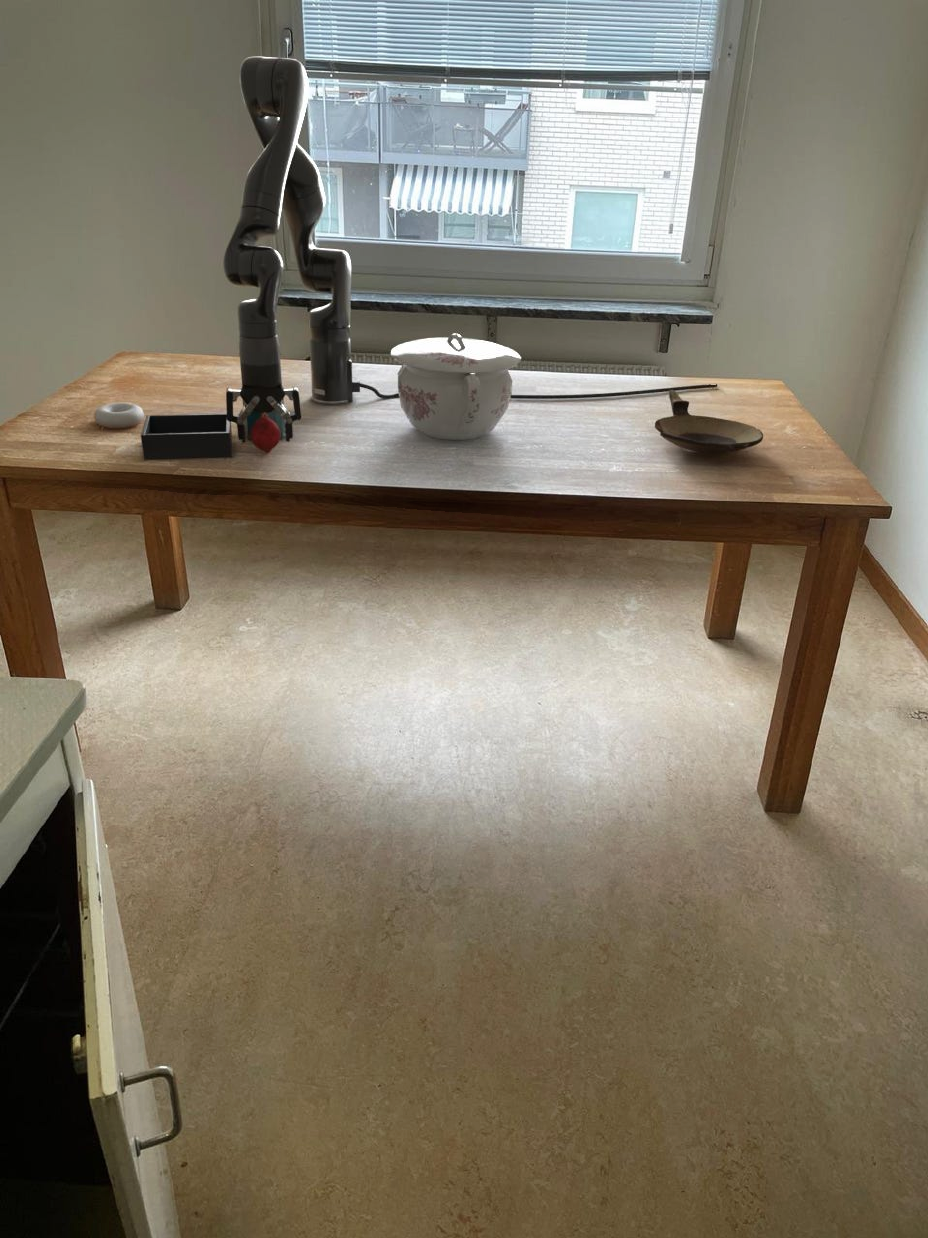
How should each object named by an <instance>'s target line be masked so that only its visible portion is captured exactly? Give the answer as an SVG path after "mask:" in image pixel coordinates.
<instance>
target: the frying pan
mask: <svg viewBox="0 0 928 1238" xmlns="http://www.w3.org/2000/svg"><path fill="white" fill-rule="evenodd" d="M668 397H669V402H670V406H671V411H672V415H671V416H666V417H662V418H659V419H657V420H655V422H654V429H655V430H656V431H658V432H659V435H660V437H662V438H663V439H664V440H666V441H668V442H669V443H671V444H673V445H675V446H678V447H680V448H683V449H685V450H688V451H690V452H695V453H700V454H725V453H732V452H733V453H734V452H738V451H742V450H745V449H749V448H751V447H754V446H757V445H758V444H760V443H762V441H763V439H764V434H763V433H764V432H763V431H762V430H761V429H759V428H756V427H755V426H753V425H750V424H748V423H744V422H740V421H737V420H731V419H725V418H719V417H714V416H713V417H712V416H707V415H703V416H702V415H695V414H690V413H689V406H690V401H689V400H684V399H682V397H680V395H679V394H678V393H677V391H674V390H670V391H668Z"/></svg>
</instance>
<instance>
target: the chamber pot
mask: <svg viewBox="0 0 928 1238" xmlns="http://www.w3.org/2000/svg"><path fill="white" fill-rule="evenodd" d="M390 356H391V357H392V358H393V359H394V360H395V361H396V362H397V363H399V364H402V365H401V367H400V369H399V371H398V372H397V393H399V397H398V398H399V403H400V408H401V409H402V411H403V412H404V414H405V415H406V418H407V419H408V421H409V423H410V424H411V425H412V427H413V428H414V429H416V430H417V432H419V433H422V434H423V435H426V436H428V437H430V438H431V437H432V438H435V439H439V440H444V441H468V440H473V439H476V438H481V437H484V436H486V435H488V434H490V433H491V432H492V431H493V430H494V429H495V428H496V426H497V425H498V424H499V422H500V420H501V419H502V418H503V416H504V415H505V413H507V411H508V408H509V404H510V400H511V398H510V397H511V395H513V394H512V393H513V379H512V378H513V377H511V374H510V372H509V369H512V368H513V367H516V366H518V364H519V363H520V362H521V361H522V357H521V355H520V354H519V352H517V351H515V349H513V348H510V347H508V346H504V345H503V344H499V343H496V342H492V341H488V340H482V339H478V338H467V337H462V336H461V335H460V334H458V333H457V332H455V333H452V334H451V335H449V336H441V337H426V338H418V339H414V340H409V341H405V342H403V343H402V342H401V343H399V344H397V345H396V346H394V347H393V348H392V349H391V350H390Z"/></svg>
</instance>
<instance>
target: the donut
mask: <svg viewBox="0 0 928 1238" xmlns="http://www.w3.org/2000/svg"><path fill="white" fill-rule="evenodd" d="M144 418H145V413H144V411H143V409H142V407H140V406H139V405H137V404H134V403H130V402H111V403H107V404H104V405H101V406H99V407H97V409H95V411H94V413H93V419H94V420H95V422H96V424H98V425H99V426H101V427H104V428H108V429H126V428H131V427H135V426H137V425H138V424H141V423H142V422H143V420H144Z"/></svg>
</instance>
